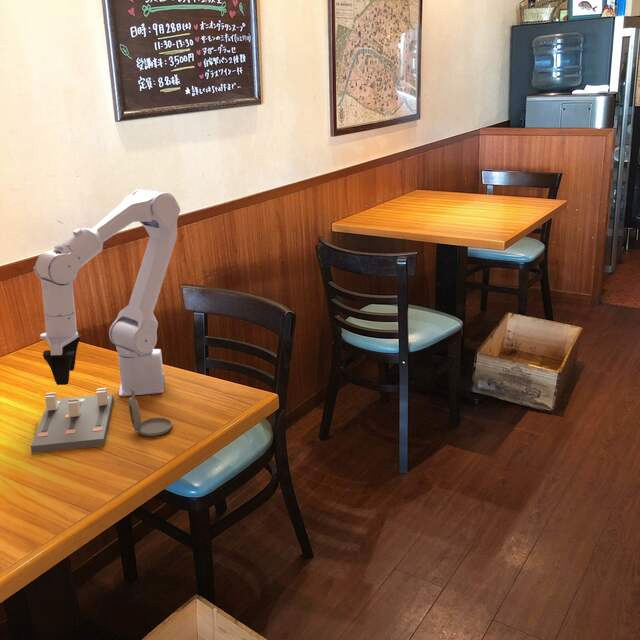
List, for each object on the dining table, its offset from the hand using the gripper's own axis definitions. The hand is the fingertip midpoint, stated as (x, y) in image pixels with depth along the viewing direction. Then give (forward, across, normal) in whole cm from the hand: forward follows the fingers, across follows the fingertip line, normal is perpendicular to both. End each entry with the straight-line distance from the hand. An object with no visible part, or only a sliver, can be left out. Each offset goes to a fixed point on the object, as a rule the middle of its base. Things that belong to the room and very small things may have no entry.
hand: (65, 377), depth 139 cm
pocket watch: (+8, +10, +16) cm, 21 cm away
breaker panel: (+9, +4, +2) cm, 10 cm away
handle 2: (+6, -1, +7) cm, 9 cm away
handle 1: (+7, 0, -3) cm, 8 cm away
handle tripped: (+7, +3, +2) cm, 8 cm away
